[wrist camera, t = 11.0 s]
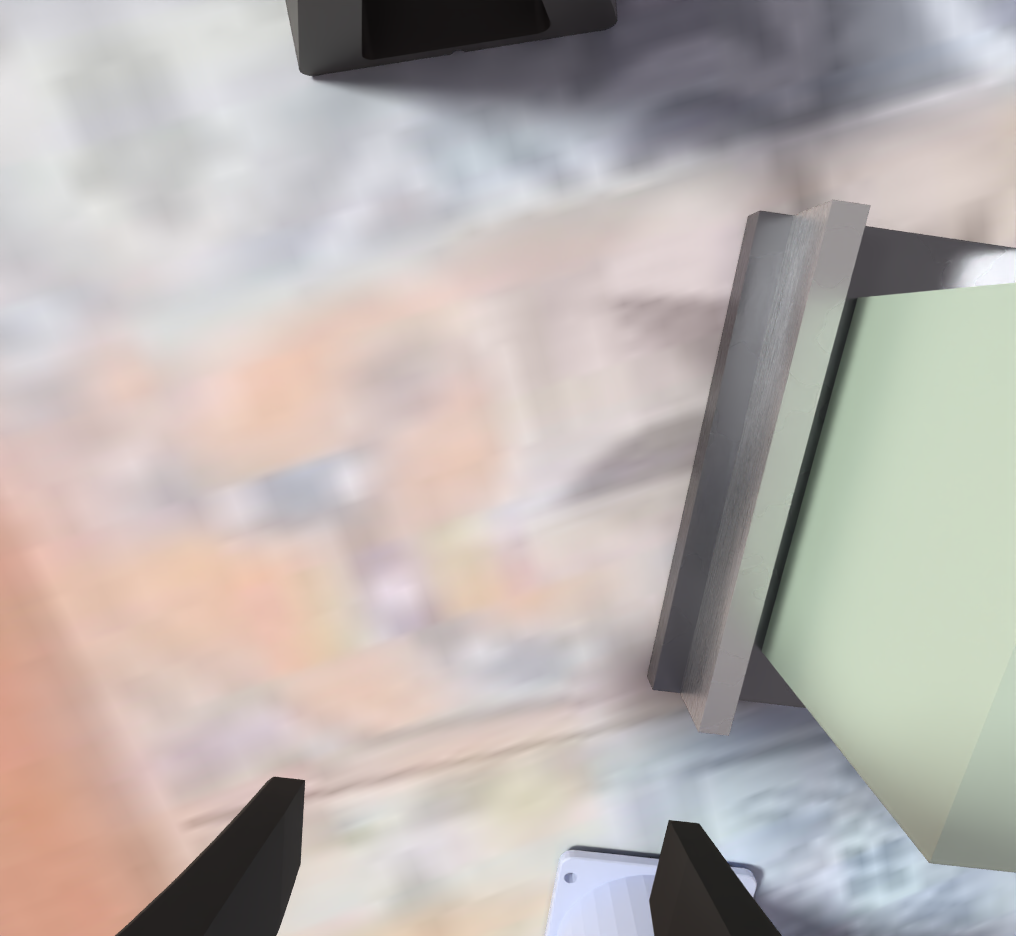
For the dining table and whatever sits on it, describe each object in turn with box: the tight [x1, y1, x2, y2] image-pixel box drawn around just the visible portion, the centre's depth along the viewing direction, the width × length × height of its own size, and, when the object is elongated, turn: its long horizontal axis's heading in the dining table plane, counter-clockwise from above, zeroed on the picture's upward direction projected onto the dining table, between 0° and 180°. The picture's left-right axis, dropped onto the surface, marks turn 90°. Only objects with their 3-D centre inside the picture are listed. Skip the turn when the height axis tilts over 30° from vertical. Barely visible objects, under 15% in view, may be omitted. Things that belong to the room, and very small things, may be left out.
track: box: [647, 200, 1016, 736], centre depth 18 cm, size 10×16×3 cm, turn 172°
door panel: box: [762, 283, 1016, 873], centre depth 14 cm, size 12×3×8 cm, turn 172°
